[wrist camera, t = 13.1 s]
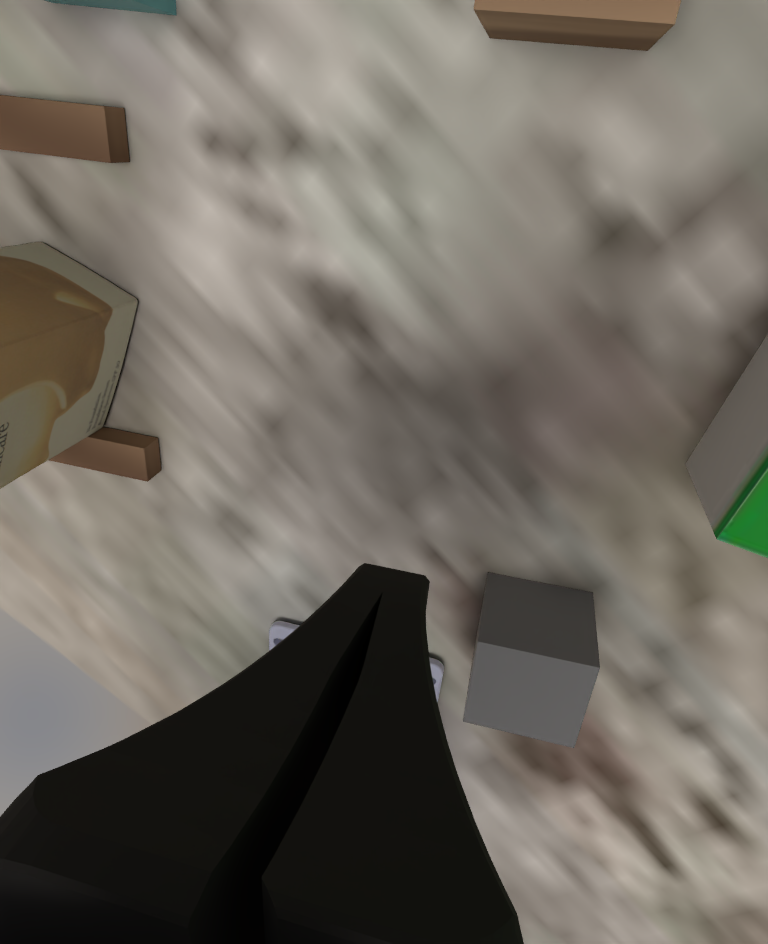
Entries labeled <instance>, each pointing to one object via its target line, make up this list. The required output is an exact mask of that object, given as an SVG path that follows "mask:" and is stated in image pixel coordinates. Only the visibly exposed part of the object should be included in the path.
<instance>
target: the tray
mask: <svg viewBox="0 0 768 944" xmlns="http://www.w3.org/2000/svg"><path fill="white" fill-rule="evenodd" d="M685 465H686V467H687V469H688V472H689V474H690V477H691V479H692V481H693V484H694V486H695V489H696V491H697V493H698V496H699V498H700V500H701V503H702V505H703V508H704V510H705V512H706V515H707V517H708V520H709V522H710V524H711V527H712V529H713V532H714V534H715V536H716V539H717V540H720V541H723V542H726V543H728V544H731V545H734V546H736V547H739V548H742V549H745V550H747V551H750V552H753V553H756V554H758V555H761V556H764V557H766V558H768V334H767V336H766V337H765V339H764V340H763V342H762V344H761V345H760V347H759V348H758V350H757V351H756V353H755V355H754V356H753V358H752V359H751V361H750V362H749V364H748V366H747V367H746V369H745V370H744V372H743V373H742V375H741V377H740V378H739V380H738V381H737V383H736V385H735V386H734V388H733V389H732V391H731V392H730V394H729V396H728V397H727V399H726V400H725V402H724V403H723V405H722V407H721V408H720V410H719V411H718V413H717V414H716V416H715V418H714V419H713V421H712V422H711V424H710V426H709V427H708V429H707V430H706V432H705V433H704V435H703V437H702V438H701V440H700V441H699V443H698V444H697V446H696V448H695V449H694V451H693V452H692V454H691V455H690V457H689V459H688V460H687V462H686V463H685Z"/></svg>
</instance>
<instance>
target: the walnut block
mask: <svg viewBox="0 0 768 944" xmlns="http://www.w3.org/2000/svg"><path fill="white" fill-rule="evenodd" d="M680 3H681V0H475V4H474V11H475V13H476V14H477V16H478V18H479V20H480V21H481V23H482V25H483V27H484V29H485V30H486V32H487V34H488V36H489V38H494V39H506V40H519V41H531V42H544V43H556V44H569V45H581V46H593V47H606V48H618V49H631V50H643V51H648V50H649V49H650V48H651V47H652V46H653V45H654V44H655V43H656V42H657V41H658V40H659V39H660V38H661V37H662V36H663V35H664V34H665V33H666V32H667V31H668V30H669V29H670V28H671V27H672V26H673V25H674V24H675V21H676V18H677V14H678V10H679V6H680Z"/></svg>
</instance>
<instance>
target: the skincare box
mask: <svg viewBox="0 0 768 944" xmlns="http://www.w3.org/2000/svg"><path fill="white" fill-rule="evenodd" d="M137 304H138V301H137V299H136V298H135V297H133V296H132V295H130V294H128V293H127V292H125V291H123V290H122V289H120V288H118V287H117V286H115V285H114V284H112V283H110V282H109V281H107V280H106V279H104V278H102V277H101V276H99V275H97V274H96V273H94V272H92V271H91V270H89V269H87V268H86V267H84V266H83V265H81V264H79V263H77V262H76V261H74V260H72V259H70V258H69V257H67V256H65V255H63V254H62V253H60V252H58V251H57V250H55V249H53V248H51V247H49V246H48V245H46V244H44V243H42V242H34V243H27V244H21V245H15V246H8V247H2V248H0V488H2V487H4V486H5V485H7V484H9V483H10V482H12V481H13V480H15V479H17V478H18V477H20V476H22V475H24V474H25V473H27V472H29V471H30V470H32V469H34V468H35V467H37V466H39V465H40V464H42V463H44V462H46V461H47V460H49V459H51V458H52V457H54V456H56V455H58V454H59V453H61V452H63V451H64V450H66V449H67V448H69V447H71V446H73V445H74V444H76V443H78V442H79V441H81V440H83V439H84V438H86V437H88V436H89V435H91V434H93V433H95V432H96V431H98V430H99V429H101V428H102V427H103V425H104V422H105V419H106V416H107V413H108V410H109V407H110V404H111V401H112V398H113V395H114V391H115V388H116V385H117V382H118V378H119V375H120V371H121V368H122V364H123V360H124V357H125V353H126V349H127V345H128V341H129V337H130V333H131V329H132V325H133V320H134V316H135V312H136V308H137Z"/></svg>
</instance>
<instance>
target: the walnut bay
mask: <svg viewBox="0 0 768 944" xmlns="http://www.w3.org/2000/svg"><path fill="white" fill-rule="evenodd" d="M0 149H3V150H11V151H19V152H27V153H35V154H44V155H52V156H60V157H68V158H76V159H84V160H92V161H100V162H108V163H117V162H130V160H129V151H128V141H127V131H126V121H125V112H124V108H117V107H108V106H98V105H89V104H80V103H70V102H61V101H52V100H42V99H33V98H24V97H14V96H5V95H0ZM49 460H50V461H55V462H60V463H64V464H69V465H74V466H78V467H83V468H87V469H92V470H97V471H101V472H106V473H111V474H115V475H120V476H125V477H129V478H134V479H138V480H143V481H149V480H150V479H151V478H153V477H154V476H155V475H156V474H157V473H159V472H160V471H161V461H160V452H159V442H158V438H156V437H151V436H146V435H141V434H136V433H131V432H126V431H121V430H116V429H111V428H106V427H102V428H101V429H99V430H98V431H96V432H95V433H93V434H91V435H89V436H88V437H86V438H84V439H83V440H81V441H79V442H78V443H76V444H74V445H73V446H71V447H69V448H67V449H66V450H64V451H63V452H61V453H59V454H58V455H56V456H54V457H52V458H51V459H49Z"/></svg>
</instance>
